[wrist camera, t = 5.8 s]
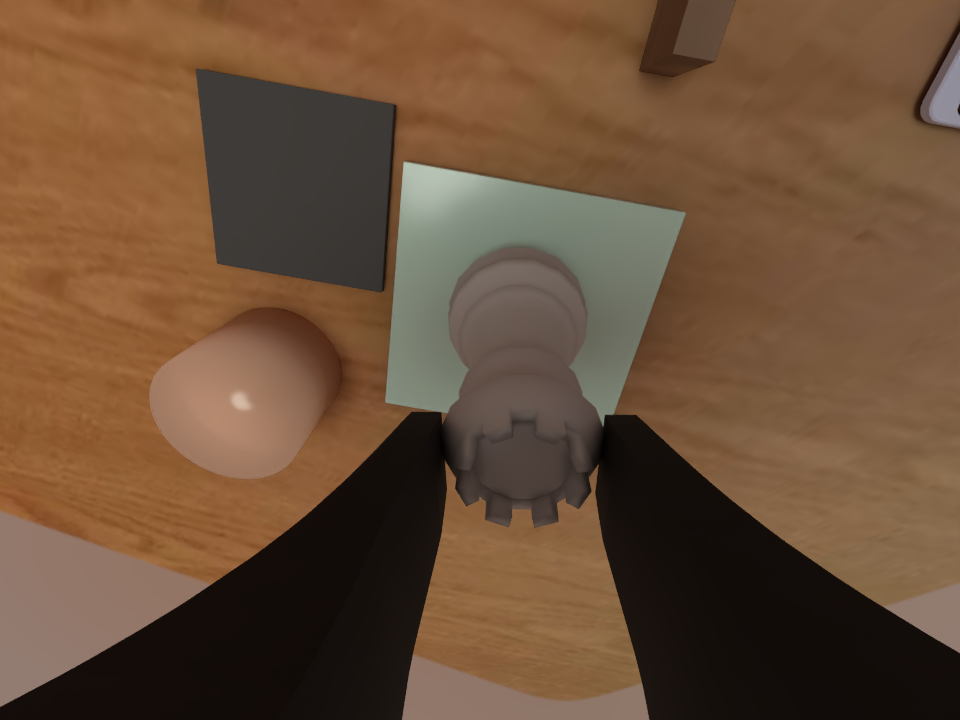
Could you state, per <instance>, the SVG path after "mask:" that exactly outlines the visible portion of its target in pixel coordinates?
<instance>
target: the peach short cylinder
mask: <svg viewBox="0 0 960 720" xmlns="http://www.w3.org/2000/svg"><path fill="white" fill-rule="evenodd" d="M341 379H342V370H341V364H340V360H339V357H338V354H337V352H336V350H335V348H334V346H333V345H332V343H331V342H330V340H329V339H328V338H327V337H326V335H325V334H324V333H323V332H322V331H321V330H320V329H319V328H318V327H317V326H315V325H314V324H313V323H311V322H310V321H308V320H307V319H305V318H304V317H302V316H300V315H297V314H295V313H293V312H290V311H287V310H283V309H279V308H256V309H252V310H248V311H246V312H244V313H241V314H240V315H238V316H236V317H235V318H233V319H232V320H230V321H229V322H227V323H226V324H224V325H223V326H221V327H220V328H218V329H217V330H215V331H214V332H212V333H211V334H209V335H207V336H206V337H204V338H203V339H201V340H200V341H198V342H197V343H195V344H194V345H192V346H191V347H189V348H188V349H186V350H185V351H183V352H182V353H180V354H178V355H177V356H175V357H174V358H172V359H171V360H169V361H168V362H167V363H165V364H164V365H163V366H162V367H161V368H160V369H159V370H158V371H157V373H156V374H155V376H154V378H153V380H152V383H151V387H150V396H149V400H150V407H151V411H152V414H153V417H154V420H155V422H156V424H157V426H158V428H159V429H160V431H161V432H162V434H163V435H164V437H165V438H166V439H167V440H168V441H169V443H170V444H171V445H172V446H173V447H174V448H175V449H176V450H177V451H178V452H180V453H181V454H182V455H183V456H185V457H186V458H187V459H189V460H190V461H192V462H193V463H195V464H197V465H199V466H200V467H202V468H204V469H206V470H209V471H211V472H214V473H217V474H220V475H223V476H227V477H232V478H240V479H255V478H262V477H267V476H270V475H273V474H275V473H277V472H279V471H281V470H282V469H284V468H285V467H286V466H288V465H289V464H290V463H291V461H292V460H293V459H294V457H295V456H296V454H297V453H298V451H299V450H300V449H301V447H302V446H303V444H304V443H305V441H306V440H307V438H308V437H309V435H310V434H311V432H312V431H313V429H314V428H315V426H316V425H317V423H318V422H319V420H320V419H321V417H322V416H323V414H324V413H325V411H326V410H327V409H328V407H329V406H330V404H331V403H332V401H333V400H334V398H335V397H336V395H337V393H338V391H339V389H340V385H341Z"/></svg>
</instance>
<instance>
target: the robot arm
mask: <svg viewBox="0 0 960 720" xmlns="http://www.w3.org/2000/svg"><path fill="white" fill-rule="evenodd" d="M959 104H960V33H959V34H958V36H957V38H956V40H955V42H954V44H953V46H952V48H951V49H950V51H949V53H948V55H947V57H946V59H945V61H944V63H943V64H942V66H941V68H940V70H939V72H938V74H937V76H936V77H935V79H934V81H933V83H932V85H931V87H930V89H929V91H928V92H927V94H926V96H925V98H924V100H923V102H922V105H921V108H920V109H921V117H922V118H923V120H924V121H926V122H928V123H931V124H936V125H942V126H947V127H952V128H958V129H960V114H959V115H958V111H957V109H958V106H959ZM441 427H442V417H441V412H411V413H410V414H409V415H408V416H407V417H406V418H405V419H404V420H403V421H402V422H401V423H400V424H399V426H398V427H397V428H396V429H395V430H394V431H393V432H392V433H391V434H390V435H389V436H388V437H387V438H386V440H385V441H384V442H383V443H382V444H381V445H380V446H379V447H378V448H377V449H376V450H375V451H374V452H373V453H372V454H371V455H370V456H369V457H368V458H367V459H366V460H365V461H364V462H363V463H362V464H361V465H360V466H359V467H358V468H357V469H356V470H355V471H354V472H353V473H352V474H351V475H350V476H349V477H348V478H347V479H346V480H345V481H344V482H343V483H342V484H341V485H339V486H338V487H337V488H336V489H335V490H334V491H333V492H332V493H331V494H329V495H328V496H327V497H326V498H325V499H324V500H323V501H322V502H321V503H320V504H318V505H317V506H316V507H315V508H314V509H313V510H312V511H311V512H309V513H308V514H307V515H306V516H305V517H303V518H302V519H301V520H300V521H299V522H297V523H296V524H295V525H294V526H292V527H291V528H290V529H289V530H287V531H286V532H285V533H283V534H282V535H281V536H279V537H278V538H277V539H276V540H274V541H273V542H272V543H270V544H269V545H268V546H266V547H265V548H264V549H262V550H261V551H260V552H258V553H257V554H256V555H254V556H253V557H251V558H250V559H249V560H247V561H246V562H244V563H243V564H241V565H240V566H238V567H237V568H235V569H234V570H232V571H231V572H229V573H228V574H226V575H225V576H223V577H222V578H220V579H219V580H217V581H216V582H214V583H213V584H212V585H210V586H209V587H207V588H206V589H204V590H203V591H201V592H200V593H198V594H197V595H195V596H194V597H192V598H191V599H189V600H188V601H186V602H185V603H183V604H181V605H180V606H178V607H177V608H175V609H173V610H172V611H170V612H169V613H167V614H165V615H164V616H162V617H160V618H159V619H157V620H155V621H154V622H152V623H151V624H149V625H147V626H146V627H144V628H142V629H141V630H139V631H137V632H136V633H134V634H132V635H131V636H129V637H127V638H125V639H124V640H122V641H120V642H118V643H117V644H115V645H113V646H111V647H110V648H108V649H107V650H105V651H103V652H101V653H99V654H98V655H96V656H94V657H92V658H91V659H89V660H87V661H85V662H84V663H82V664H80V665H78V666H76V667H75V668H73V669H71V670H69V671H67V672H66V673H64V674H62V675H60V676H59V677H57V678H55V679H53V680H51V681H49V682H47V683H45V684H43V685H41V686H39V687H37V688H35V689H34V690H32V691H30V692H28V693H26V694H24V695H22V696H20V697H19V698H17V699H15V700H13V701H11V702H9V703H7V704H5V705H3V706H1V707H0V720H402V715H403V708H404V702H405V695H406V689H407V682H408V676H409V670H410V665H411V661H412V656H413V651H414V646H415V642H416V638H417V633H418V629H419V625H420V621H421V617H422V613H423V609H424V605H425V600H426V596H427V592H428V588H429V584H430V580H431V576H432V572H433V567H434V563H435V559H436V555H437V551H438V546H439V542H440V538H441V533H442V525H443V517H444V509H445V501H446V492H447V484H446V471H445V459H444V458H443V456H442V444H441V433H440V430H441ZM603 428H604V430H605V433H606V434H605V441H604V448H603V455H602V459H601V461H600V462H599V467H598V475H597V484H596V492H595V493H596V500H597V507H598V514H599V520H600V526H601V532H602V538H603V542H604V546H605V550H606V553H607V557H608V561H609V564H610V568H611V571H612V575H613V578H614V582H615V585H616V589H617V592H618V596H619V599H620V603H621V606H622V610H623V613H624V617H625V621H626V624H627V628H628V631H629V635H630V638H631V642H632V645H633V649H634V652H635V656H636V660H637V664H638V668H639V672H640V676H641V680H642V684H643V689H644V694H645V699H646V704H647V709H648V715H649V719H650V720H960V653H958V652H957V651H955V650H953V649H952V648H950V647H948V646H946V645H945V644H943V643H941V642H940V641H938V640H936V639H934V638H933V637H931V636H929V635H928V634H926V633H925V632H923V631H921V630H920V629H918V628H916V627H915V626H913V625H912V624H910V623H908V622H906V621H905V620H903V619H902V618H900V617H898V616H897V615H895V614H894V613H892V612H890V611H889V610H887V609H885V608H884V607H882V606H881V605H879V604H877V603H876V602H874V601H872V600H871V599H869V598H868V597H866V596H865V595H863V594H861V593H860V592H858V591H857V590H855V589H854V588H852V587H851V586H849V585H848V584H846V583H844V582H843V581H841V580H840V579H838V578H837V577H835V576H834V575H832V574H831V573H830V572H828V571H827V570H825V569H824V568H822V567H821V566H819V565H818V564H817V563H815V562H814V561H812V560H811V559H809V558H808V557H806V556H805V555H804V554H802V553H801V552H799V551H798V550H796V549H795V548H793V547H792V546H791V545H789V544H788V543H786V542H785V541H784V540H782V539H781V538H780V537H778V536H777V535H776V534H774V533H773V532H771V531H770V530H769V529H767V528H766V527H765V526H764V525H762V524H761V523H760V522H758V521H757V520H756V519H755V518H753V517H752V516H751V515H750V514H748V513H747V512H746V511H745V510H743V509H742V508H741V507H739V506H738V505H737V504H736V503H734V502H733V501H732V500H731V499H729V498H728V497H727V496H726V495H725V494H723V493H722V492H721V491H720V490H719V489H717V488H716V487H715V486H714V485H713V484H712V483H710V482H709V481H708V480H707V479H706V478H705V477H703V476H702V475H701V474H700V473H699V472H698V471H697V470H696V469H694V468H693V467H692V466H691V465H690V464H689V463H688V462H687V461H685V460H684V459H683V458H682V457H681V456H680V455H679V454H678V453H677V452H676V451H675V450H673V449H672V448H671V447H670V446H669V445H668V444H667V443H666V442H665V441H664V440H663V439H662V438H661V437H659V436H658V435H657V434H656V433H655V432H654V431H653V430H652V429H651V428H650V427H649V426H648V425H647V424H646V423H644V422H643V421H642V420H641V419H640V418H639V417H638V416H637V415H605V418H604V426H603Z"/></svg>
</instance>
